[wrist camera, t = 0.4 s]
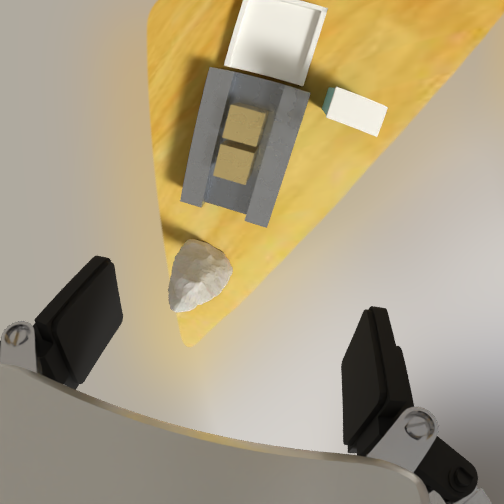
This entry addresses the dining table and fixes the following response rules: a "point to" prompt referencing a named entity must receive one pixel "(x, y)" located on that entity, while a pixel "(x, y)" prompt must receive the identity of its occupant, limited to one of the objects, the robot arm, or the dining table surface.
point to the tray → (276, 38)
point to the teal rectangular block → (354, 110)
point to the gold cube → (235, 161)
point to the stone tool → (197, 275)
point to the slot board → (270, 147)
